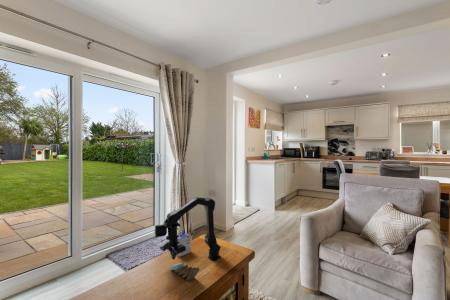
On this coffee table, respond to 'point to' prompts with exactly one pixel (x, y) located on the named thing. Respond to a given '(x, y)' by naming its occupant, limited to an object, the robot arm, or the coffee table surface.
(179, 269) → the domino
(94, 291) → the coffee table surface
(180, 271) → the domino
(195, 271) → the domino
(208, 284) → the coffee table surface
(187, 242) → the ink cartridge box
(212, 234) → the robot arm
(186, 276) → the domino
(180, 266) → the domino
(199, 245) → the coffee table surface
